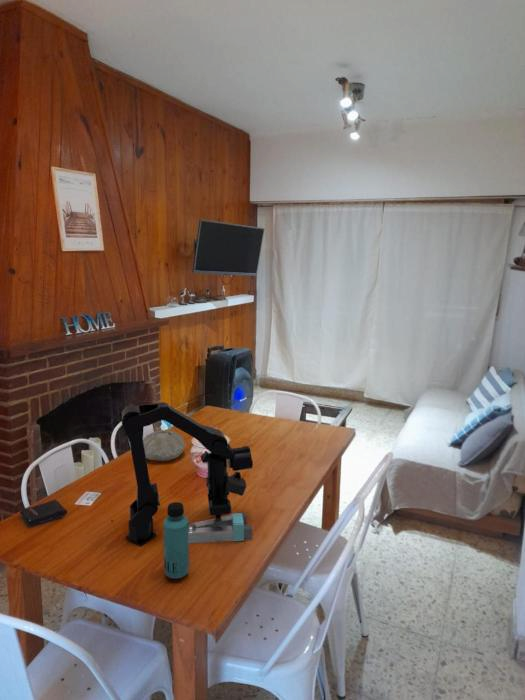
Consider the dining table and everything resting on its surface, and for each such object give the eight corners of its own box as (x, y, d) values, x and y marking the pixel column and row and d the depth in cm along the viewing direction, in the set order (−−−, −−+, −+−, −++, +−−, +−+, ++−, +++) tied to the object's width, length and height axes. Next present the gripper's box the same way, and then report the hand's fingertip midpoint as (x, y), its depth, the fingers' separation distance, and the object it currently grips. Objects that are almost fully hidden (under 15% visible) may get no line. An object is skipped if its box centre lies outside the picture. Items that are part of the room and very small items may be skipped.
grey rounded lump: (173, 469, 182) (172, 444, 180) (131, 463, 187) (130, 439, 185) (191, 451, 199) (191, 428, 197) (153, 446, 204) (152, 423, 202)
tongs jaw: (189, 537, 138) (189, 528, 138) (187, 533, 140) (187, 524, 140) (246, 524, 146) (246, 515, 145) (243, 520, 148) (243, 512, 147)
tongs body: (182, 544, 135) (182, 531, 134) (182, 535, 139) (182, 523, 139) (251, 539, 138) (252, 527, 137) (250, 531, 142) (250, 519, 141)
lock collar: (233, 541, 136) (233, 525, 135) (231, 529, 142) (231, 513, 141) (243, 540, 137) (243, 524, 136) (241, 528, 143) (241, 513, 142)
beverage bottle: (191, 567, 125) (190, 498, 121) (187, 584, 119) (187, 512, 115) (166, 567, 125) (164, 498, 121) (161, 584, 118) (160, 511, 114)
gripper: (248, 485, 133) (248, 534, 137) (240, 456, 151) (241, 499, 155) (208, 489, 131) (210, 538, 135) (205, 458, 149) (206, 502, 153)
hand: (218, 518), depth 144 cm, fingers closed
